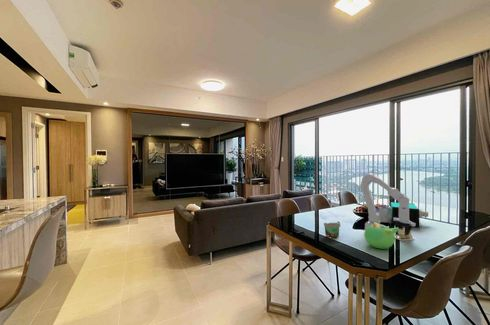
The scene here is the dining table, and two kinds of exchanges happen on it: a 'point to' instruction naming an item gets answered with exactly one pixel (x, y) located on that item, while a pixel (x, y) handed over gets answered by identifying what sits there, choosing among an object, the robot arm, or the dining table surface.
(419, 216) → the electronic device
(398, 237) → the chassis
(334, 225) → the food container
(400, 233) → the birch block
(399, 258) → the dining table surface
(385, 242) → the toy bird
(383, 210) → the ink cartridge box
